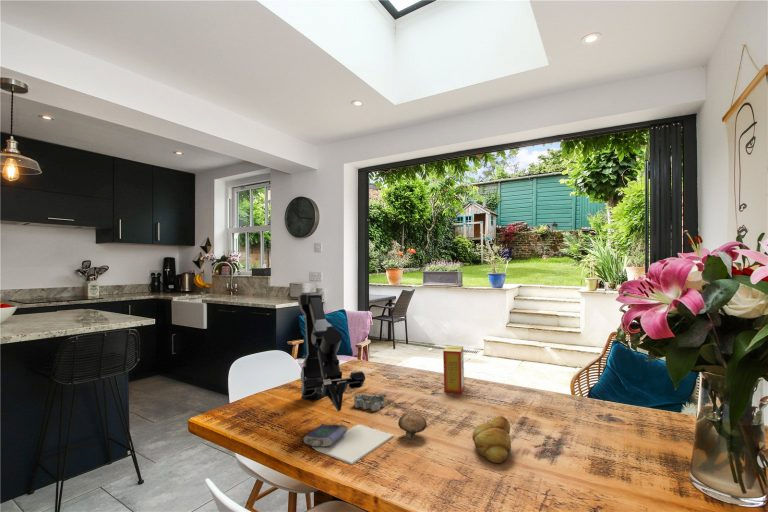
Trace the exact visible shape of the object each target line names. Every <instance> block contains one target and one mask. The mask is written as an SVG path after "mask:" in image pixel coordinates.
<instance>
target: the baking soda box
mask: <svg viewBox="0 0 768 512" xmlns="http://www.w3.org/2000/svg"><path fill="white" fill-rule="evenodd" d="M442 354H443V359H442V360H443V361H442V362H443V390H444V391H443V393H450V394H462V393H463V390H464V388H465V367H464V366H465V365H464V361H465V359H464V346H460V345H459V346H458V345H446V347H444V349H443V352H442Z"/></svg>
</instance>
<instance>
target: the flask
mask: <svg viewBox="0 0 768 512" xmlns="http://www.w3.org/2000/svg"><path fill="white" fill-rule="evenodd" d="M347 430H348V428H347V425H345V424H339V425H338V424H332V425H331V424H324V423H322V424H320V425H319V426H318V427H316V428H315V429H312V431H310V432H309V433H307V434H306V435H304V436H303V443H304V444H305V445H309V446H311V447H312V449H314V450H315V448H317V447H324V446H330V445H332V444H333V443H334V442H335V441H336V440H338V439H339V438H340V437H341V436H343V435H344V434H345V433H346V432H347Z"/></svg>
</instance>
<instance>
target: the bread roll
mask: <svg viewBox="0 0 768 512" xmlns="http://www.w3.org/2000/svg"><path fill="white" fill-rule="evenodd" d="M510 432H511V424H510V421H509V419H507V418H506V417H504V416H503V415H499V416H496V417H493V418H492V419H491V420H490V421H489V422H488V423H486V422H484V423H482V424H479V425H477V426H475V427H474V430H473V432H472V441H473V443H474V448H475V449H476V452H477V453H478V454H479V455H481V456H483V457H485V458H486V459H487V460H488V461H490V462H492V463H497V464H499V463H500V464H501V463H503V462H505V461H506V460H507V458H508V455H509V453H510V452H511V449H512V445H511V443H512V442H511V435H510Z"/></svg>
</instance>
